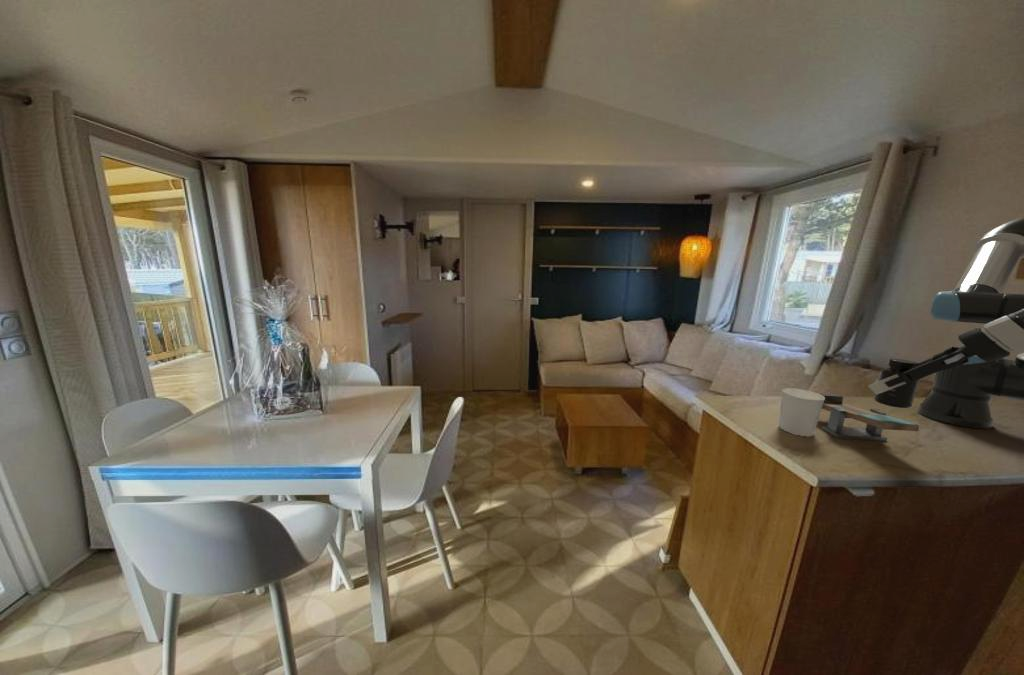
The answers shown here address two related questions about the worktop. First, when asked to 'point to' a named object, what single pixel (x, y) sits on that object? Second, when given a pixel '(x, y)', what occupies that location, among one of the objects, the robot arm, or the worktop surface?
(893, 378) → the robot arm
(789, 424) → the white cylinder
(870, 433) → the stand
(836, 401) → the beam
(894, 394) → the supplement bottle
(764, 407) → the worktop surface
